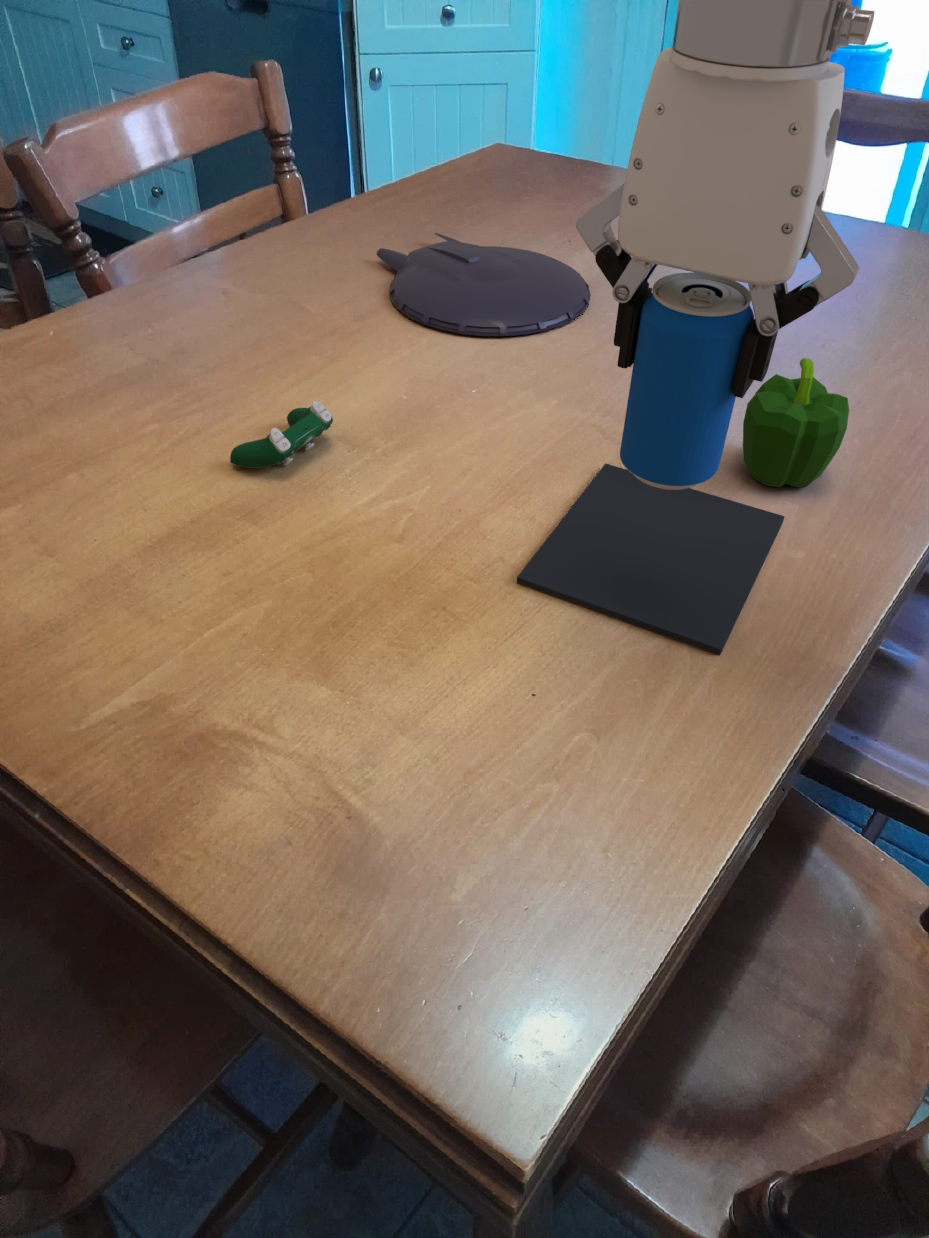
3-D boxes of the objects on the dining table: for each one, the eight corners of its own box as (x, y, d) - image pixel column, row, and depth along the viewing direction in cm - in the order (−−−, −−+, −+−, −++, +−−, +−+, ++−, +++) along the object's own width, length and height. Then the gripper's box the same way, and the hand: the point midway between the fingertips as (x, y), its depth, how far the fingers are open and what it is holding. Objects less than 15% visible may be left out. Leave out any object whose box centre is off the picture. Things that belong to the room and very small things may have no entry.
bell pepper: (811, 512, 76) (847, 407, 69) (719, 481, 79) (744, 378, 72) (839, 466, 81) (875, 364, 74) (751, 439, 84) (778, 338, 78)
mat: (783, 521, 75) (784, 516, 75) (719, 655, 63) (721, 649, 63) (604, 468, 81) (605, 463, 80) (516, 583, 69) (516, 577, 68)
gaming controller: (250, 491, 80) (281, 466, 76) (222, 456, 79) (252, 429, 75) (316, 445, 86) (348, 419, 81) (291, 412, 85) (322, 384, 81)
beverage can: (721, 452, 61) (763, 278, 53) (710, 504, 57) (755, 323, 49) (627, 435, 63) (654, 263, 55) (609, 486, 58) (636, 306, 50)
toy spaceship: (331, 275, 111) (328, 249, 109) (479, 232, 122) (479, 207, 120) (478, 359, 95) (479, 330, 93) (632, 300, 107) (636, 273, 104)
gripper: (957, 35, 42) (842, 382, 55) (613, -1, 48) (579, 319, 60) (935, 67, 38) (815, 439, 50) (555, 22, 43) (531, 365, 56)
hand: (686, 370), depth 55 cm, fingers closed on beverage can, 6 cm apart
